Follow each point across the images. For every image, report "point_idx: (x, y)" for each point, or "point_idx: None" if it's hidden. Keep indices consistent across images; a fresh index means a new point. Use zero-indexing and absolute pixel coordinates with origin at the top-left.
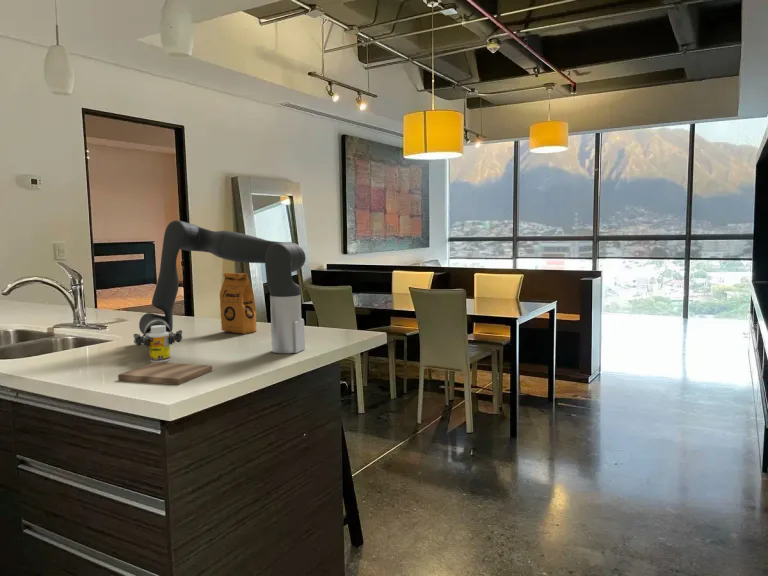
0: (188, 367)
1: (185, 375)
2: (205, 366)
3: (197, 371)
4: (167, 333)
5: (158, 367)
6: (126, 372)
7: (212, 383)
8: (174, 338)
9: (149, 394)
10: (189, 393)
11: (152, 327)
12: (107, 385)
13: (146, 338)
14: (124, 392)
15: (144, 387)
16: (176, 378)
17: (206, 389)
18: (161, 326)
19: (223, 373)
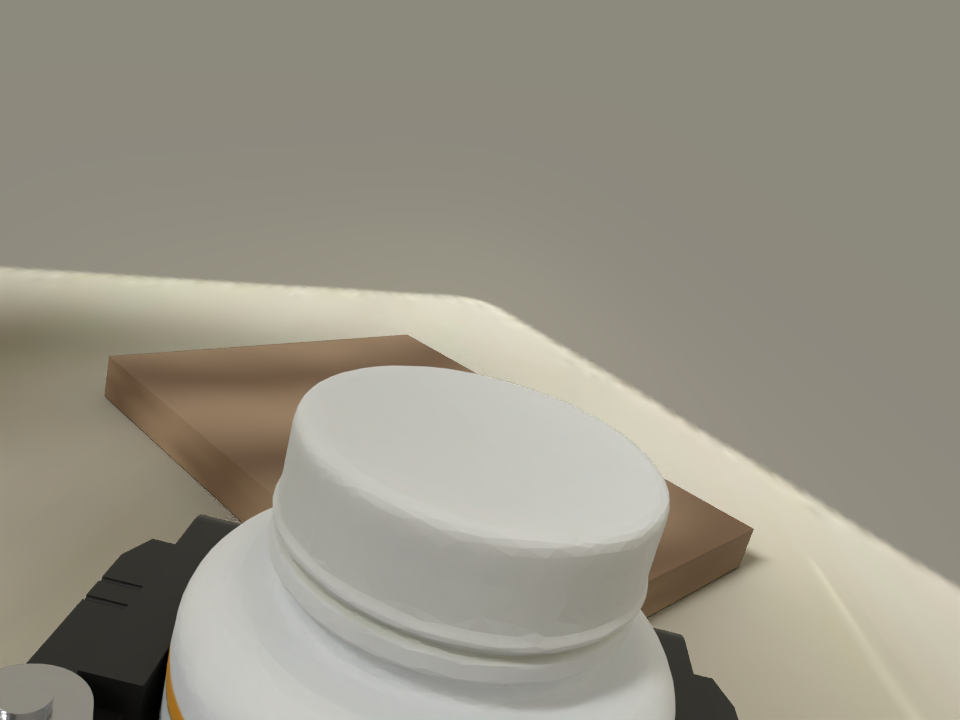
0: (271, 404)
1: (359, 341)
2: (162, 364)
3: (268, 346)
4: (264, 512)
5: None
6: (706, 534)
7: (257, 313)
8: (120, 568)
9: (539, 363)
10: (394, 308)
11: (620, 435)
12: (773, 526)
13: (684, 677)
14: (647, 418)
15: None
16: (415, 340)
17: (319, 298)
18: (421, 381)
19: (92, 347)
